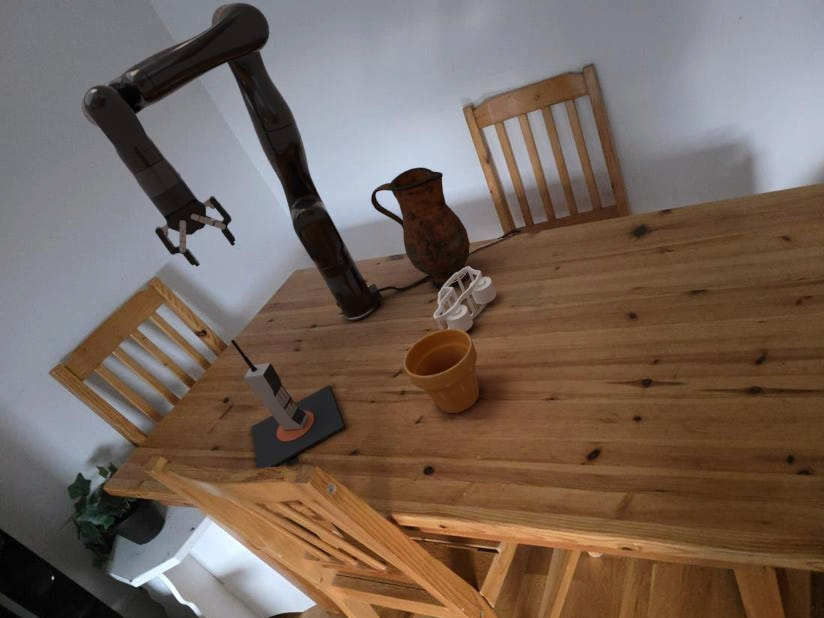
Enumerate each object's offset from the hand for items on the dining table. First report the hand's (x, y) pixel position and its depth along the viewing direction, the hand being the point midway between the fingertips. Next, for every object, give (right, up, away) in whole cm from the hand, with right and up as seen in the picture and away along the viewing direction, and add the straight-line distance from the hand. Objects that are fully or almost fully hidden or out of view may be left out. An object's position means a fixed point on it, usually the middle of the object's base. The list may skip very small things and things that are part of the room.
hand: (216, 254), depth 129 cm
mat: (+16, -38, +5) cm, 42 cm away
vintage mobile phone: (+16, -37, +5) cm, 41 cm away
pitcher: (+47, -1, +35) cm, 59 cm away
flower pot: (+53, -31, -4) cm, 61 cm away
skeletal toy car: (+54, -12, +18) cm, 58 cm away
